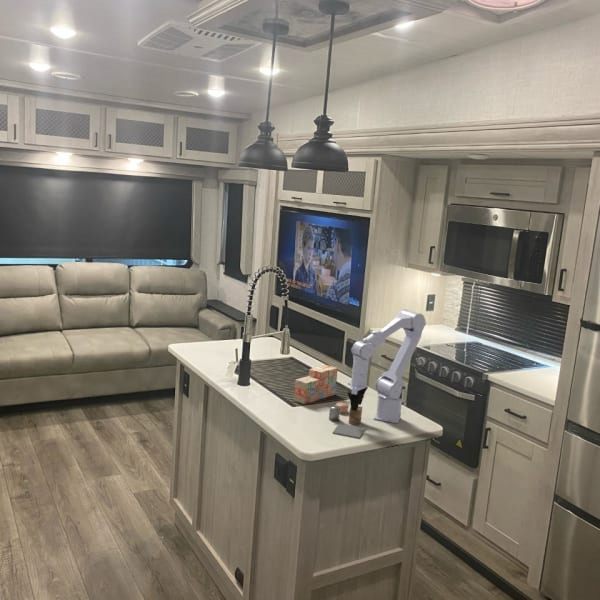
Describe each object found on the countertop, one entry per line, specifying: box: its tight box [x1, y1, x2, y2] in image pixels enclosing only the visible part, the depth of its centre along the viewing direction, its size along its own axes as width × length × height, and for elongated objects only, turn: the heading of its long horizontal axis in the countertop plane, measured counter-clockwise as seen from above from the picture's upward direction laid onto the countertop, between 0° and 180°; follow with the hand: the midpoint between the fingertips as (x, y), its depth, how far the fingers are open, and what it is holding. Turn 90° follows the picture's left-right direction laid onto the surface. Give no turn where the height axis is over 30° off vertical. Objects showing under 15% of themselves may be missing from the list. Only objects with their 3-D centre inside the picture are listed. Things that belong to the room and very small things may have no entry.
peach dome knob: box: [335, 402, 349, 415], centre depth 242 cm, size 5×5×3 cm
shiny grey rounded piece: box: [328, 405, 341, 423], centre depth 232 cm, size 4×4×5 cm
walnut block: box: [348, 405, 363, 426], centre depth 231 cm, size 4×4×6 cm
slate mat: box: [332, 422, 366, 439], centre depth 222 cm, size 10×10×1 cm
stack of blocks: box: [293, 364, 339, 405], centre depth 256 cm, size 21×6×12 cm, turn 140°
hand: (356, 407), depth 230 cm, fingers open, 7 cm apart
